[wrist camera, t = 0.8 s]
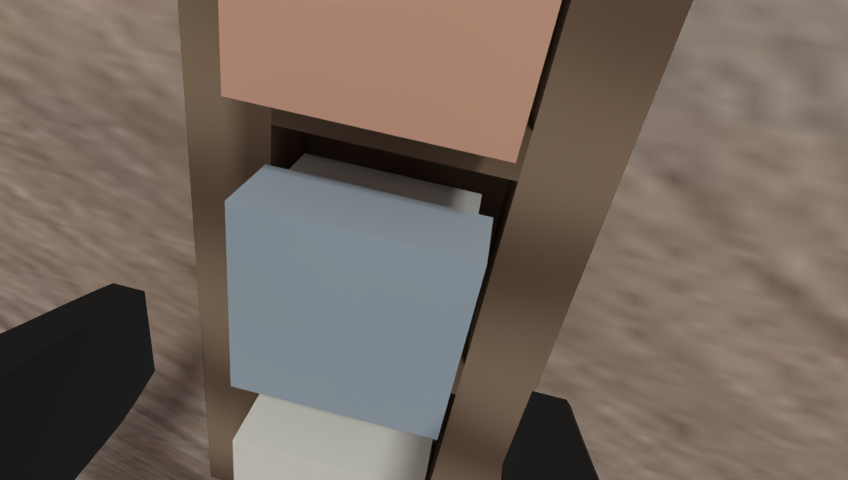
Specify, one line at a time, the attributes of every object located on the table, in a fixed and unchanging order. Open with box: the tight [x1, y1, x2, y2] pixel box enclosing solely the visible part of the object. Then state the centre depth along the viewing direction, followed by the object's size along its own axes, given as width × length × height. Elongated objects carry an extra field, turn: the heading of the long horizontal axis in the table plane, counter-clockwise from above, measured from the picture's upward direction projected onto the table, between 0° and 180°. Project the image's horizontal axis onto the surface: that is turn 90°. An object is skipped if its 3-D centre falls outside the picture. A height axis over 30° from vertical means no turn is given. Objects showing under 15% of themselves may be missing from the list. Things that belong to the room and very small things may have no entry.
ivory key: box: [233, 394, 433, 480], centre depth 16 cm, size 5×5×3 cm
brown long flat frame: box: [178, 0, 693, 480], centre depth 15 cm, size 23×10×3 cm, turn 170°
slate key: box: [225, 153, 493, 440], centre depth 13 cm, size 5×5×3 cm
